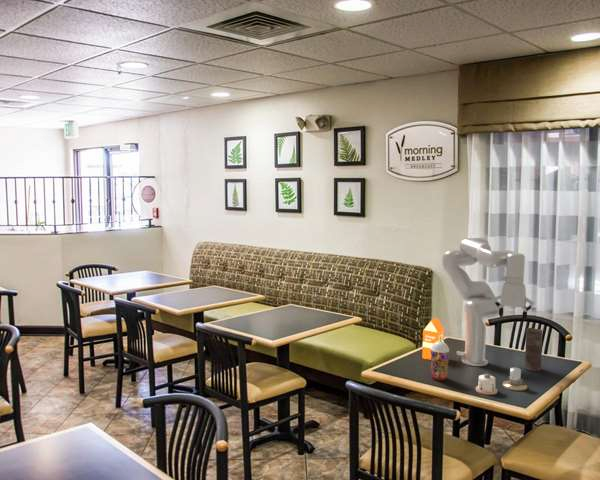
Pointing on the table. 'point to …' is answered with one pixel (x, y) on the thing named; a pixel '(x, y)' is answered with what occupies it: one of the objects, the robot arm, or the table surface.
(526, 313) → the robot arm
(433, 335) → the orange juice
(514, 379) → the beige piece
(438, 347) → the smoothie
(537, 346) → the candle
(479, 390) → the coaster
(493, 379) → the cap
